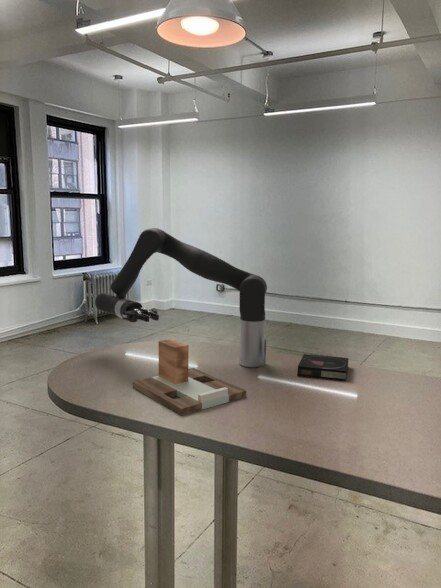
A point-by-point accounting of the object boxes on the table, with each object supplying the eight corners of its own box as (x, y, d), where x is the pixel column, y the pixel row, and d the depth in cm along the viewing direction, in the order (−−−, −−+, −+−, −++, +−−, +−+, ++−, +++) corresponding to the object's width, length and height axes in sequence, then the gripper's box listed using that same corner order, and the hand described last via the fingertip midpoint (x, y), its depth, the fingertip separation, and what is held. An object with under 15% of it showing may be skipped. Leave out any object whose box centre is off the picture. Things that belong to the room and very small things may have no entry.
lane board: (193, 373, 173) (193, 362, 172) (246, 396, 151) (246, 384, 150) (132, 387, 158) (132, 375, 157) (181, 415, 136) (181, 401, 136)
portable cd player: (297, 377, 171) (297, 366, 170) (303, 363, 187) (303, 353, 187) (345, 383, 166) (346, 371, 166) (347, 368, 183) (348, 358, 182)
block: (171, 373, 166) (171, 338, 164) (188, 381, 158) (188, 345, 156) (158, 376, 163) (158, 341, 161) (175, 384, 155) (175, 347, 153)
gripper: (111, 302, 176) (134, 309, 162) (145, 298, 184) (170, 305, 171) (111, 322, 177) (134, 331, 164) (145, 317, 186) (170, 326, 172)
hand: (152, 318), depth 167 cm, fingers open, 3 cm apart
